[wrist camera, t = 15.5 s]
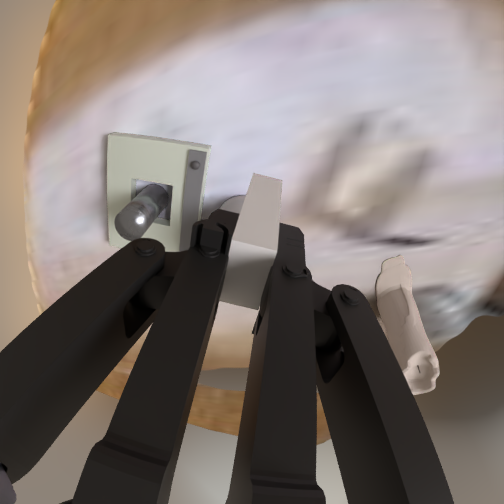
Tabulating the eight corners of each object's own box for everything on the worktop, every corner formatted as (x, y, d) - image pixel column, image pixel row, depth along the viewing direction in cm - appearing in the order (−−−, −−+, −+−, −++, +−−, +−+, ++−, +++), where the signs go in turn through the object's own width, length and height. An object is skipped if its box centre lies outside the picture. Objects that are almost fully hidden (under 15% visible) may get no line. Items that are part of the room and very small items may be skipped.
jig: (114, 132, 42) (105, 136, 39) (211, 145, 42) (206, 150, 39) (114, 239, 52) (107, 247, 50) (196, 258, 53) (191, 268, 50)
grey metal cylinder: (143, 181, 46) (113, 207, 37) (169, 186, 46) (144, 214, 38) (142, 207, 48) (115, 237, 40) (167, 212, 48) (144, 244, 40)
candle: (411, 252, 48) (455, 337, 31) (411, 309, 54) (440, 391, 38) (373, 261, 49) (404, 351, 33) (377, 317, 56) (398, 403, 39)
